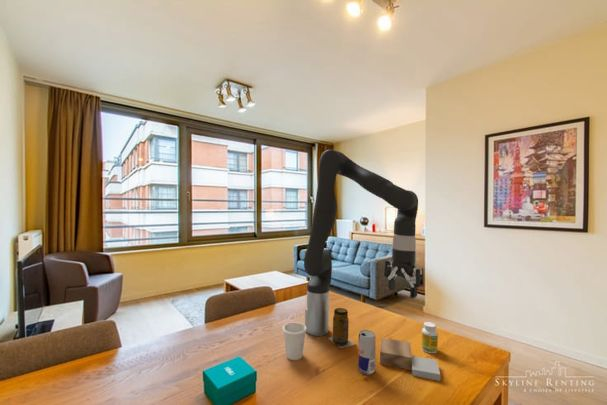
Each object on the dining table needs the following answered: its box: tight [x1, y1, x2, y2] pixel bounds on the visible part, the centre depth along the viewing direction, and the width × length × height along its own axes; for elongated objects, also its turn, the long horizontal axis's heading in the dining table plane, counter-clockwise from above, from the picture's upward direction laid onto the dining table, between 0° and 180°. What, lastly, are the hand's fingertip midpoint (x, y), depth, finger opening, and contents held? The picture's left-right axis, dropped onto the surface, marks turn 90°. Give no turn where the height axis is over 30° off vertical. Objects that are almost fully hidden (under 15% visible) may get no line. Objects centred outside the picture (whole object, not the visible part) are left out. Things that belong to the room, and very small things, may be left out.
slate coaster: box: [411, 355, 441, 382], centre depth 89 cm, size 8×8×2 cm
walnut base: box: [379, 337, 413, 371], centre depth 96 cm, size 10×10×4 cm
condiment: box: [327, 307, 356, 349], centre depth 107 cm, size 7×8×12 cm
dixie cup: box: [282, 321, 307, 361], centre depth 97 cm, size 8×8×10 cm
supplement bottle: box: [421, 321, 439, 354], centre depth 101 cm, size 5×5×10 cm
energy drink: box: [357, 329, 377, 376], centre depth 89 cm, size 5×5×12 cm
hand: (402, 293), depth 95 cm, fingers open, 8 cm apart
